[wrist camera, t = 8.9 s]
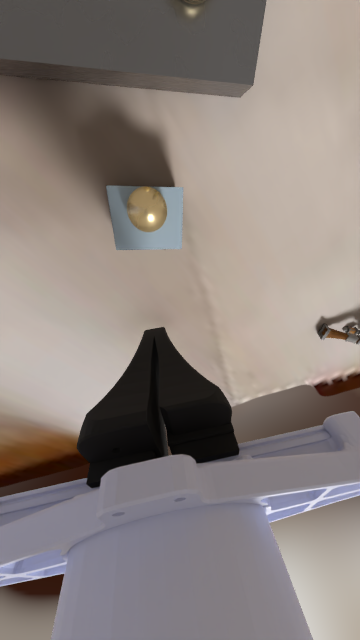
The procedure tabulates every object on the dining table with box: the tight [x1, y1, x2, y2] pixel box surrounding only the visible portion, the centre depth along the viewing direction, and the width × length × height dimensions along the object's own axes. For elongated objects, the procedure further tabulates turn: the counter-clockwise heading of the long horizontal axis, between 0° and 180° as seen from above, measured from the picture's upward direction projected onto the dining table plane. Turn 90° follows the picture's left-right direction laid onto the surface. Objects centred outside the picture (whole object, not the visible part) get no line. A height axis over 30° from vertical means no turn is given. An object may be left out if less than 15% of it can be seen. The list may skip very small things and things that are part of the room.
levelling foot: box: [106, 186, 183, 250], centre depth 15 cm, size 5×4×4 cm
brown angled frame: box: [318, 324, 360, 344], centre depth 28 cm, size 2×8×4 cm, turn 83°
